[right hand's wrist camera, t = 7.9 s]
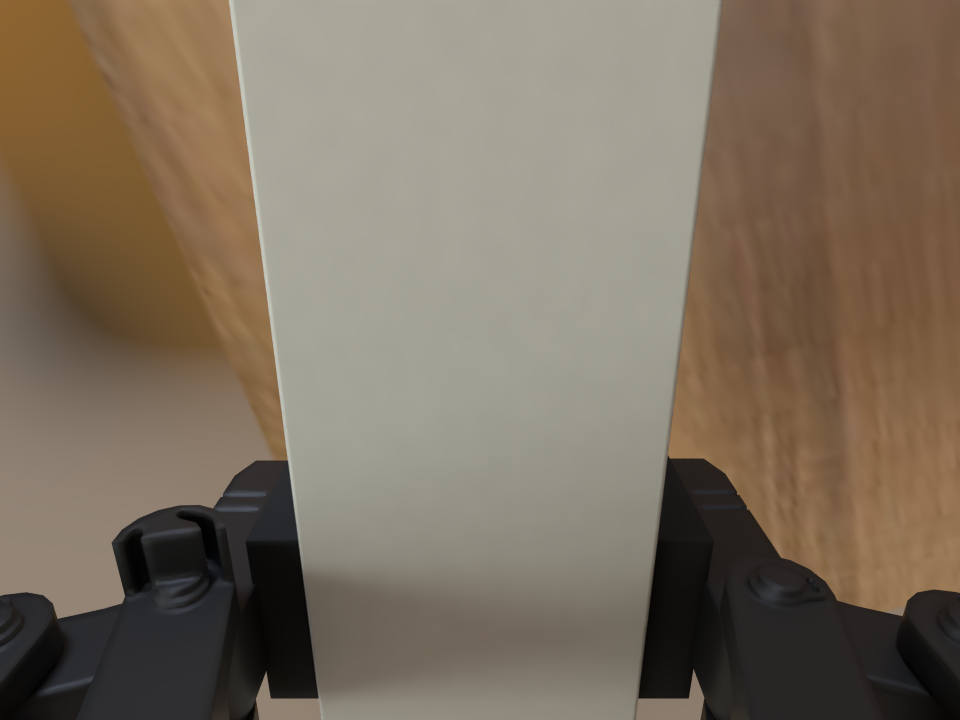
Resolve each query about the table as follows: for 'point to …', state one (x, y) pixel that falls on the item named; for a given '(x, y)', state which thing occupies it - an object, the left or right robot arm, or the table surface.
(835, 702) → the right robot arm
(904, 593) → the table surface
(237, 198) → the table surface
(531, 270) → the beam
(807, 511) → the table surface
